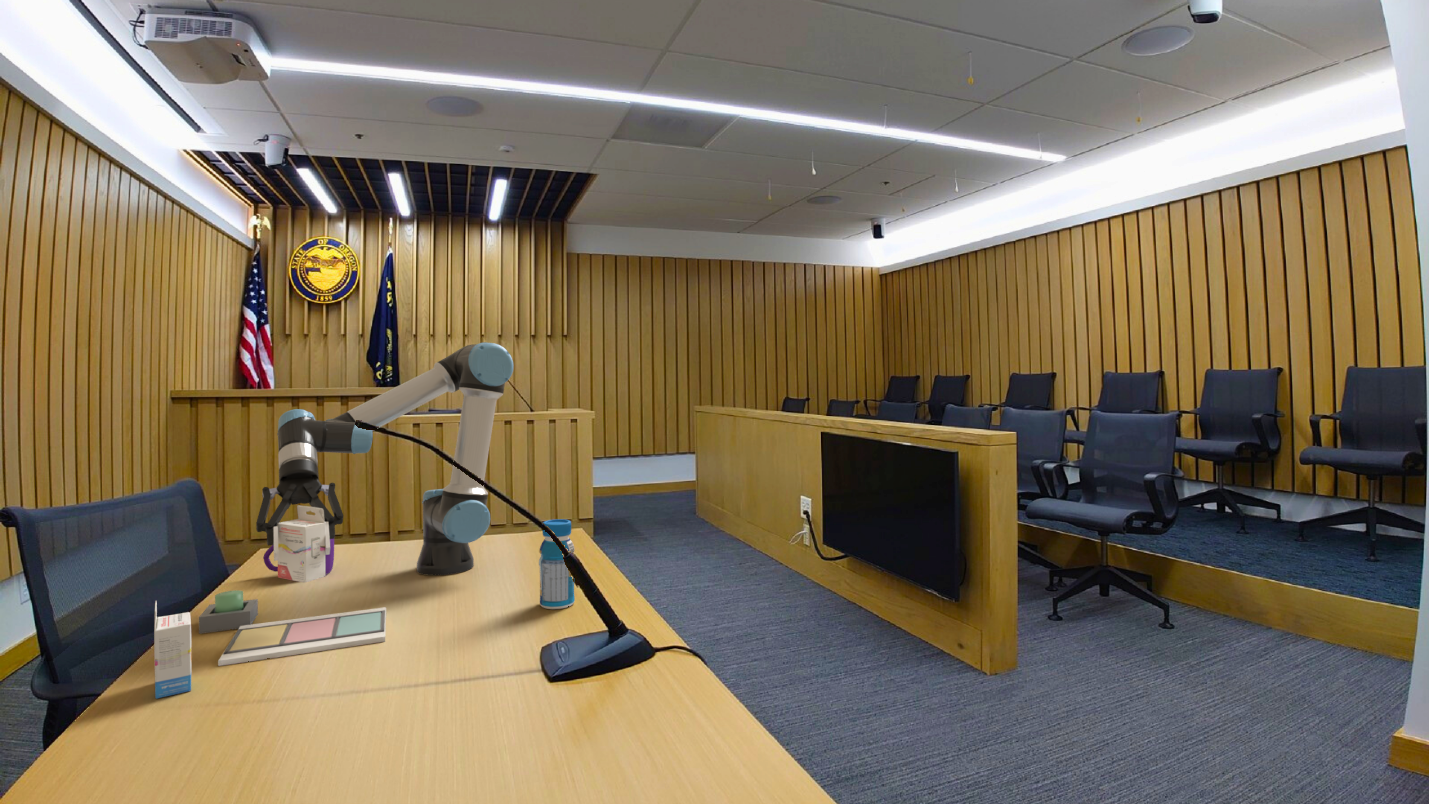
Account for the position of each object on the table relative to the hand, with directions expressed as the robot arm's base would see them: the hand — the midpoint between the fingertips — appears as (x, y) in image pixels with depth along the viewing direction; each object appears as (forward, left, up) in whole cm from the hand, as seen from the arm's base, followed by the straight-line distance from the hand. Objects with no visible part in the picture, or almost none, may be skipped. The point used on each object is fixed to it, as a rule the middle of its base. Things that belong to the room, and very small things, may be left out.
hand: (302, 553), depth 138 cm
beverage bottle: (-52, +1, -18) cm, 55 cm away
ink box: (+18, +16, -18) cm, 30 cm away
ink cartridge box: (+1, -3, -6) cm, 7 cm away
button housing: (+16, -17, -18) cm, 29 cm away
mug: (+7, -54, -18) cm, 58 cm away
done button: (+16, -17, -16) cm, 28 cm away
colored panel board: (-1, -1, -18) cm, 18 cm away
